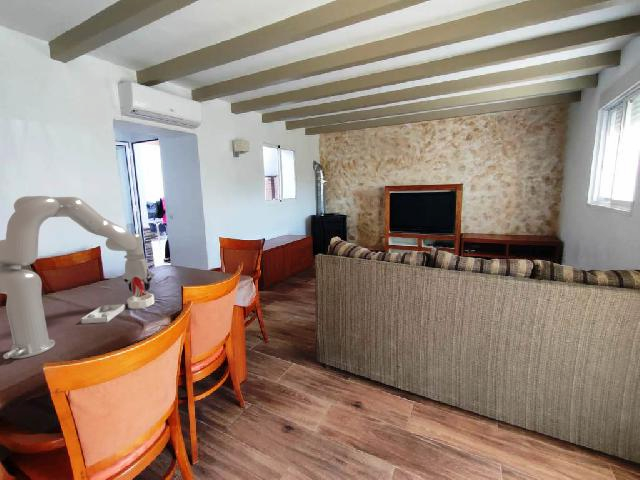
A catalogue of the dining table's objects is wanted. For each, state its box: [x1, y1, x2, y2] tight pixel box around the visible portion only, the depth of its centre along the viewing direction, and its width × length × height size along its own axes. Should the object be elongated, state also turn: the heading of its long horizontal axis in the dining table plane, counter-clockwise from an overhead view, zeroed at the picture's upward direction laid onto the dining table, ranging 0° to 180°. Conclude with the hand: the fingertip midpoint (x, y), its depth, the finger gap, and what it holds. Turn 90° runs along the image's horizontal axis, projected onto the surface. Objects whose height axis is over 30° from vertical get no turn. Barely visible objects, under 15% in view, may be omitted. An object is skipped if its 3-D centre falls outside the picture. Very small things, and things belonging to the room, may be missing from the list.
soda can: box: [131, 275, 149, 297], centre depth 156 cm, size 7×7×12 cm
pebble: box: [102, 304, 110, 311], centre depth 149 cm, size 3×3×3 cm
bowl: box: [126, 292, 155, 310], centre depth 158 cm, size 12×12×4 cm
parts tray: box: [80, 303, 126, 325], centre depth 144 cm, size 16×11×2 cm
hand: (139, 289), depth 157 cm, fingers closed on soda can, 7 cm apart
